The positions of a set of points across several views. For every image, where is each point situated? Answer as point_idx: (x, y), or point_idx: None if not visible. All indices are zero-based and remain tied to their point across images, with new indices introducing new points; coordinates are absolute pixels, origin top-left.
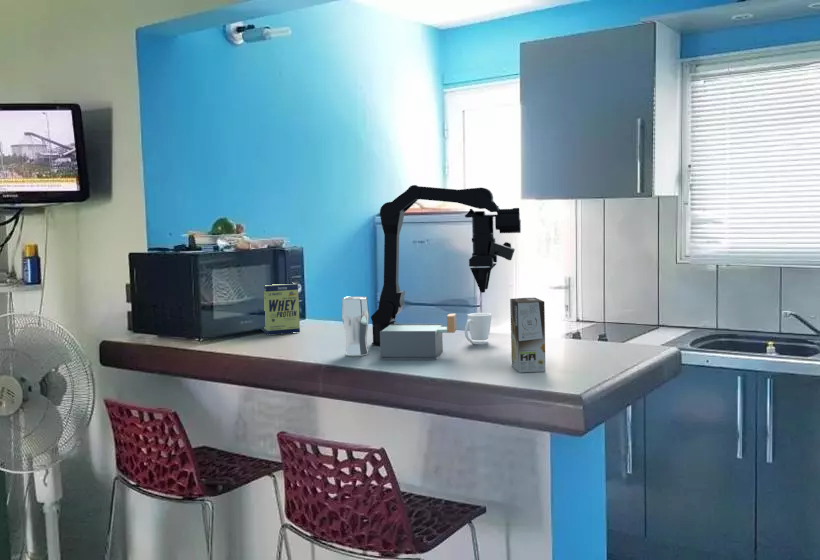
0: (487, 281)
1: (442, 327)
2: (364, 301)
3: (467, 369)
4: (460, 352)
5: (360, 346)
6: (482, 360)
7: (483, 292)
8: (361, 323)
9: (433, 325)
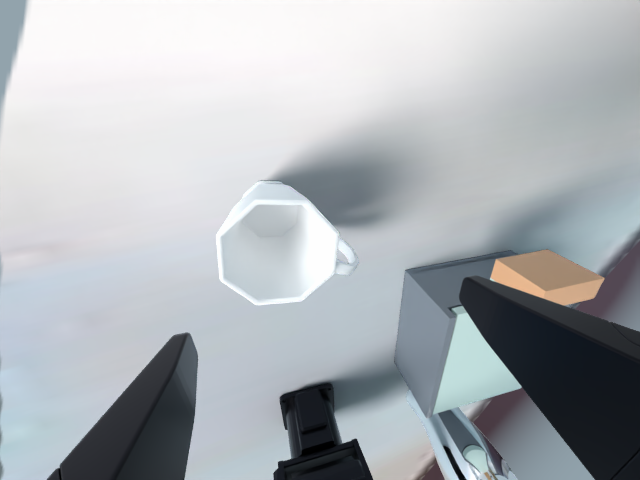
0: (166, 401)
1: None
2: None
3: (629, 157)
4: (431, 223)
5: None
6: (549, 141)
7: (469, 281)
8: (488, 440)
9: (461, 330)
